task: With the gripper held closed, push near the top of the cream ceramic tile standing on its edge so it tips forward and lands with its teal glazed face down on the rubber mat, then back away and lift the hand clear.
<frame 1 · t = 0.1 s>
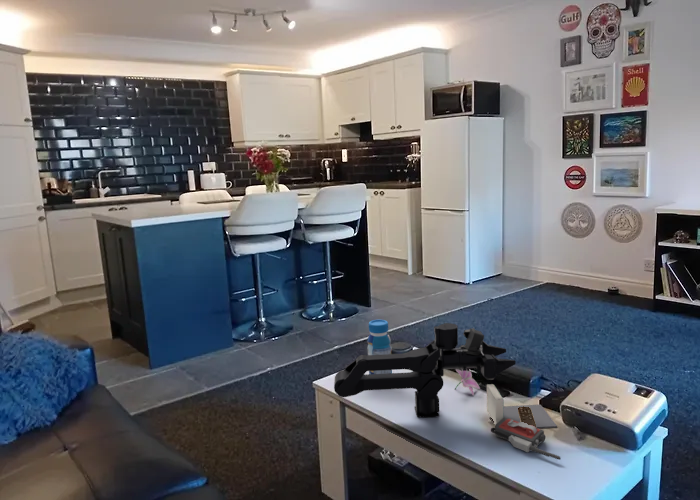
hand: (510, 356, 159), 17 cm above the table, tool horizontal, fingers open, 9 cm apart
tile: (494, 419, 156), on the table
mat: (524, 417, 156), on the table
walkie-talkie: (528, 444, 142), on the table, touching mat
lily: (466, 391, 175), on the table
beverage bottle: (380, 377, 189), on the table
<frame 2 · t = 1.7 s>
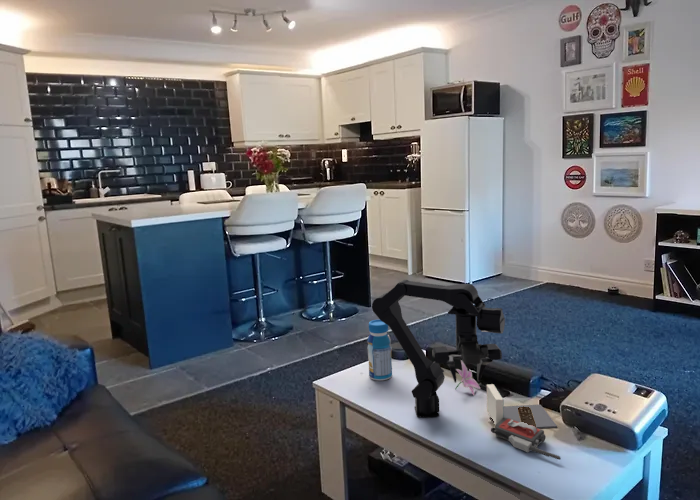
hand: (466, 381, 154), 12 cm above the table, tool pointing down, fingers open, 6 cm apart
nothing on the table moved.
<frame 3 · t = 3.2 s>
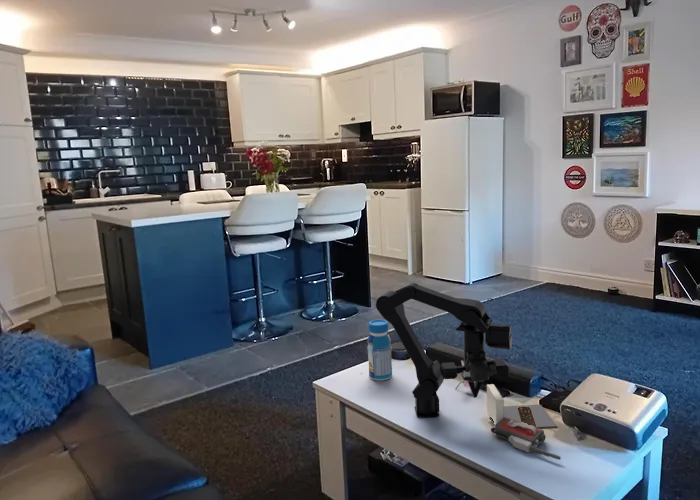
hand: (474, 397, 154), 7 cm above the table, tool pointing down, fingers closed
nothing on the table moved.
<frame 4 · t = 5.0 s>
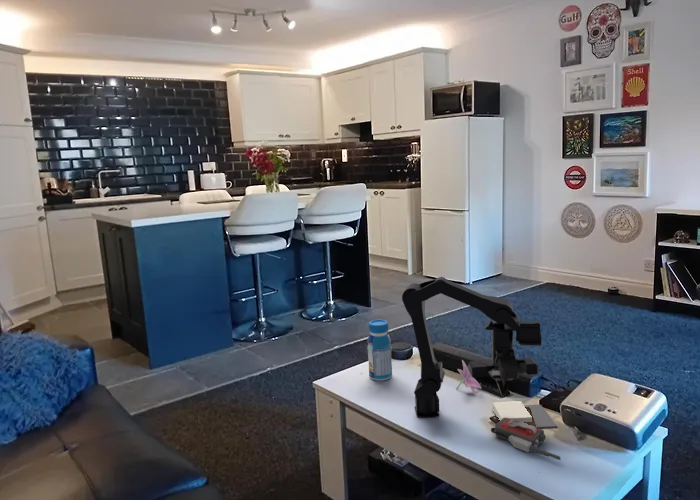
hand: (502, 395, 155), 7 cm above the table, tool pointing down, fingers closed
tile: (497, 413, 156), point 2 cm above the table, tilted 90°, touching mat
everything else where it was.
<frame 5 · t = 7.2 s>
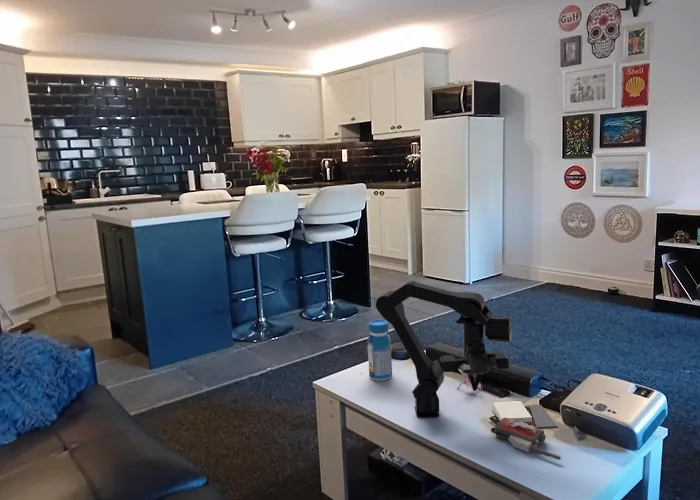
hand: (474, 390, 154), 9 cm above the table, tool pointing down, fingers closed
nothing on the table moved.
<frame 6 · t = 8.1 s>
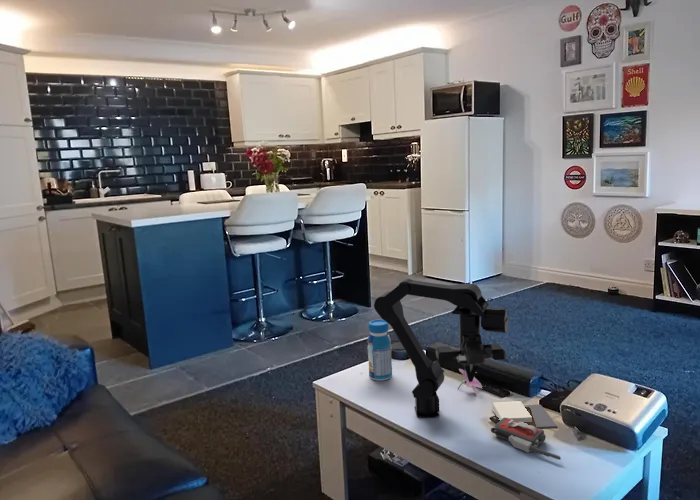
hand: (470, 381, 154), 12 cm above the table, tool pointing down, fingers closed
nothing on the table moved.
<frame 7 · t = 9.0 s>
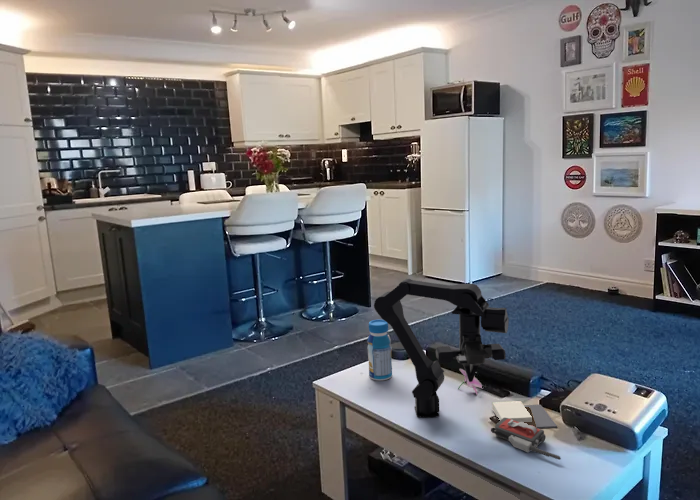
hand: (470, 381, 154), 12 cm above the table, tool pointing down, fingers closed
at the end: tile tilted 90°; tile touching mat; the gripper is holding nothing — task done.
